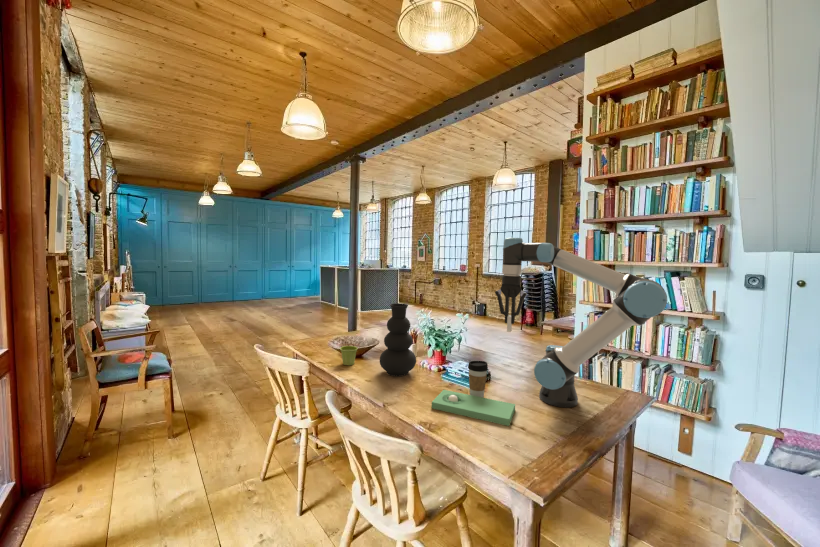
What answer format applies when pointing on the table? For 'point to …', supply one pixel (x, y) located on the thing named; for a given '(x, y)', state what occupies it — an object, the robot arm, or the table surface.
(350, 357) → the plant pot
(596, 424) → the table surface
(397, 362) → the vase
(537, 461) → the table surface
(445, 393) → the block
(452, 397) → the ball
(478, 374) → the coffee cup
